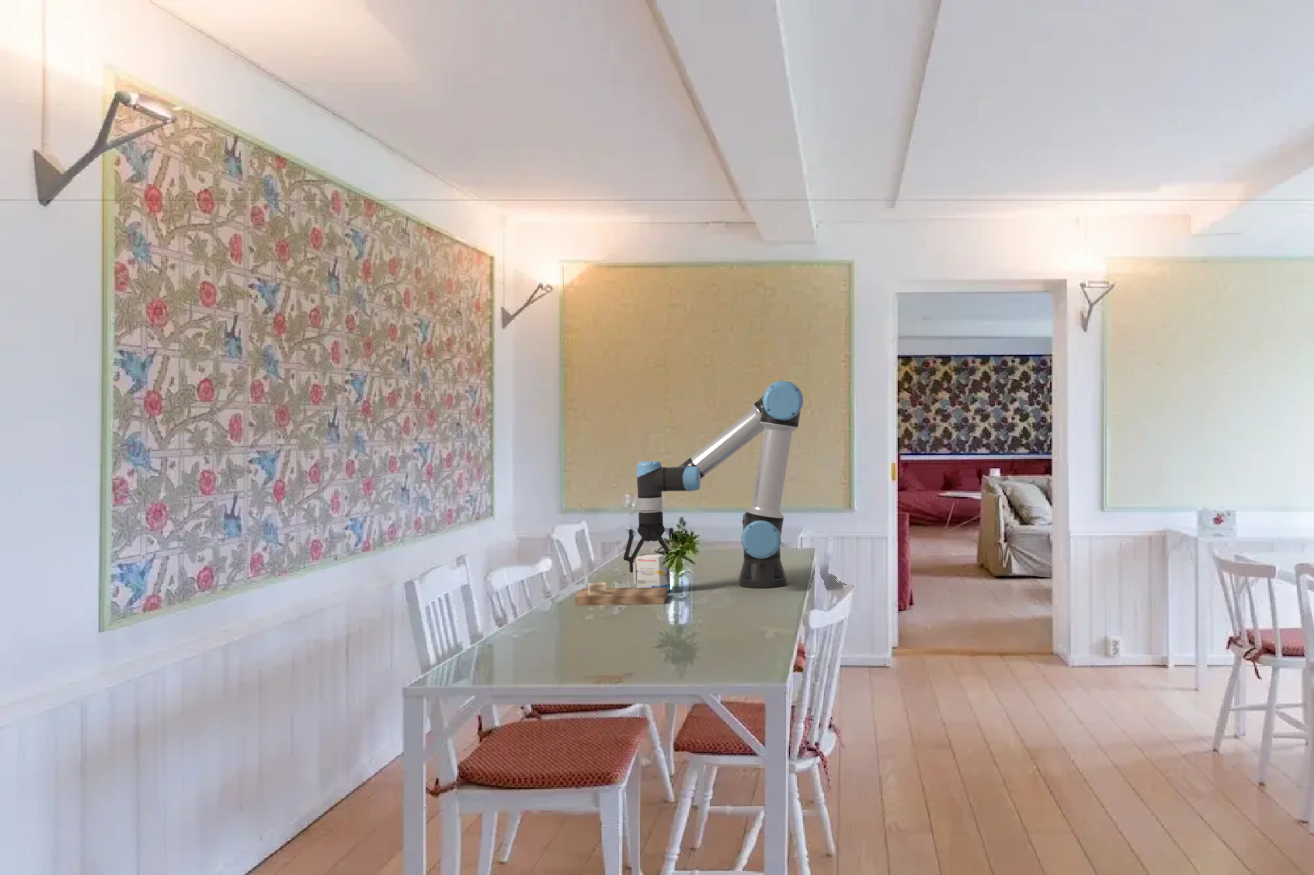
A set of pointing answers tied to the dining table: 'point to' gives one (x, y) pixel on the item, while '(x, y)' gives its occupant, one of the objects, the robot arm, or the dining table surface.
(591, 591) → the beech offcut
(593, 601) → the board
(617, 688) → the dining table surface
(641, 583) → the ink box
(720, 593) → the dining table surface
